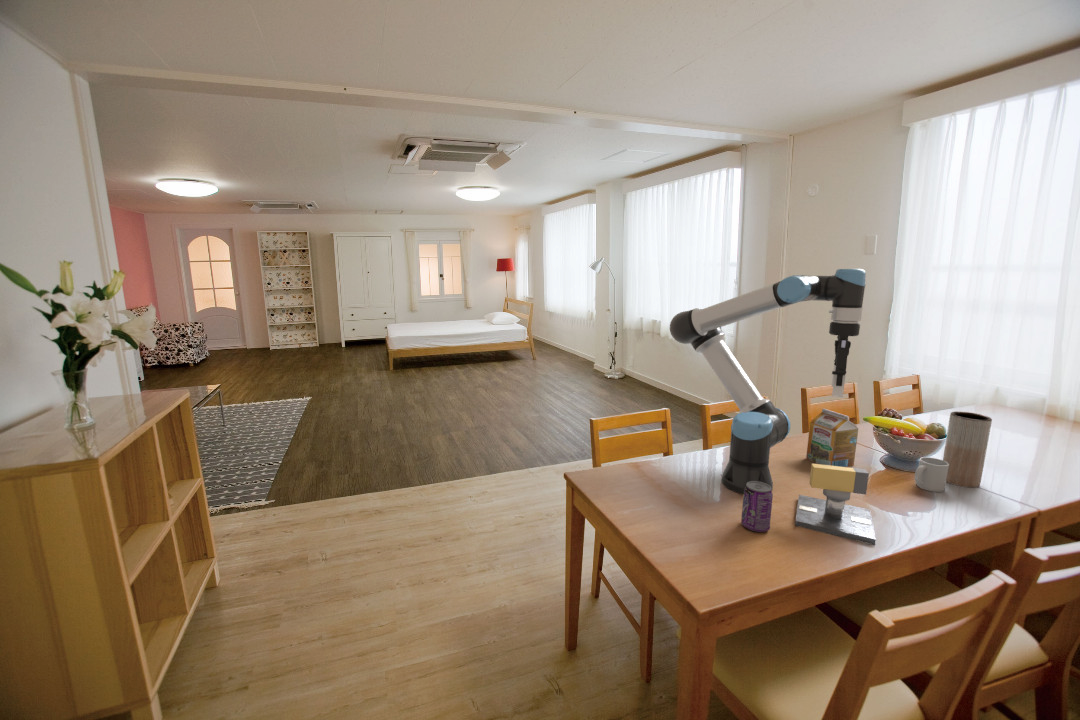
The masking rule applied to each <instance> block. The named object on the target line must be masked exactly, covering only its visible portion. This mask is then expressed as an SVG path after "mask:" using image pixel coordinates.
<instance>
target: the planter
mask: <svg viewBox="0 0 1080 720" xmlns="http://www.w3.org/2000/svg"><path fill="white" fill-rule="evenodd" d="M948 420H949V421H948V425H947V432H946V439H945V446H944V451H943V456H942V457H943V458H942V460H943V461H945V462H947V463H948V464H949V467H948V473H947V479H946V483H949V484H952V485H955V486H958V487H964V488H978V487H980V485H981V482H982V477H983V471H984V465H985V460H986V455H987V449H988V444H989V438H990V434H991V433H990V432H991V427H992V423H993V419H992V417H990V416H988V415H985V414H981V413H976V412H971V411H970V412H969V411H958V410H957V411H952V412H950V415H949V419H948Z"/></svg>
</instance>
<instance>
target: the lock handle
mask: <svg viewBox="0 0 1080 720" xmlns="http://www.w3.org/2000/svg"><path fill="white" fill-rule="evenodd" d="M869 474H870V473H869V471H868V470H867V469H866V468H857V467H839V466H830V465H821V464H817V463H811V467H810V475H809V485H810V487H811V488H813V489H820V490H822V494H823V496H825V498H826V497H828V498H831V499H834V500H839V501H845V502H846V501H849V500H850V499H851V493H852V494H858V495H867V490H868V484H869V483H868V482H869Z"/></svg>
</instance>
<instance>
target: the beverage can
mask: <svg viewBox="0 0 1080 720" xmlns="http://www.w3.org/2000/svg"><path fill="white" fill-rule="evenodd" d="M772 491H773V490H772ZM772 491H771V486H769V485H768V484H766V483H763V482H758V481H750V482H747V484H746V487H745V489H744V494H742V495H743V499H742V508H741V509H742V510H741V511H742V512H741V520H740V521H741V525H742V526H743V527H745V528H746V529H748V530H750V531H752V532H756V533H762V532H767V531H769V530H770V529H771V518H772V508H773V507H772V506H773V496H774V495H773V492H772Z"/></svg>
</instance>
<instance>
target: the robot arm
mask: <svg viewBox="0 0 1080 720" xmlns="http://www.w3.org/2000/svg"><path fill="white" fill-rule="evenodd" d="M866 274H867V273H866V270H864V269H862V268H838V269H836V271H835V273H834V274H833V275H807V274H806V275H805V274H804V275H803V274H802V275H801V274H800V275H798V274H797V275H790V276H787V277H785V278H783V279H782V280H780V281H778V282H775V283H772V284H769V285H766V286H763V287H760V288H758V289H755V290H751V291H749V292H746V293H744V294H740V295H738V296H735V297H732V298H730V299H727V300H724V301H721V302H719V303H716V304H713V305H711V306H707V307H705V308H698V307H697V308H693V309H690V310H686V311H685V310H684V311H681V312H679V313H677V314H676V315H674V316H673V318H672V319H671V321H670V323H669V333H670V336H672V338H673V339H674V340H675V341H676V342H677V343H679V344H684V345H689V344H690V345H691V346H692V348H693V350H694V351H695V352H696V353H701V354H702V355H703V356H704V358H705V360H706V361H707V362H708V364H709V366H710V368H711V369H712V370H713V372H714V373H715V375H716V376H717V378H718V380H719V381H720V382H721V384H722V385H723V387H724V388H725V390H726V391H727V393H728V394H729V396H730V397H731V399H732V401H733V402H734V403H735V405H736V407H737V408H738V410H739V413H736V415H734V417H733V418H732V423H731V426H730V443H729V444H730V446H729V459H728V462H727V464H726V466H725V468H724V471H723V473H722V475H721V483H722V485H723V486H724V487H725V488H727V489H728V490H730V491H732V492H735V493H738V494H741V495H744V489H745V487H746V484H747V482H750V481H758V482H763V483H766V484H768V485H769V486H771V491H773V487H774V485H773V484H774V482H773V479H772V475H771V471H770V467H769V463H770V453H771V448H773V447H775V446H776V445H777V444H779V443H781V442H783V441H785V439H786V438H787V436H788V435H789V433H790V431H791V421H790V418H789V417H788V415H787V413H786V412H784V411H783V410H782V409H781V408H777V407H776V406H775V405H774V403H773V402H772V401H771V399H768V398H764V397H763V396H762V394H761V393H760V391H759V390H758V389H757V386H755V384H754V383H753V381H752V380H751V379H750V377H749V375H748V374H747V373H746V371H745V370H744V369H743V367H742V365H741V364H740V362H739V361H738V360H737V358H736V357H735V355H734V354H733V352H732V350H731V349H730V348H729V346H728V345H727V344H726V342H725V341H724V339H725V333H724V331H723V330H722V327H726V326H727V325H731V324H732V325H733V324H735V323H737V322H741V321H744V320H746V319H751V318H753V317H756V316H759V315H761V314H762V315H763V314H765V313H768V312H771V311H775V310H777V309H781V308H785V307H788V306H790V305H794V304H798V303H801V302H807V301H808V302H809V301H819V302H820V301H824V302H826V301H827V302H832V305H831V309H829V311H828V313H829V314H831V315H830V320H831V321H830V322H829V330H828V333H829V334H830V335H831V336H837V337H836V338H837V340H834V355H835V356H834V359H833V360H834V361H833V370H832V373H831V375H832V381H831V387H832V393H831V396H832V397H837V398H838V397H839V398H843V397H844V392H845V391H844V390H845V381H846V375H847V364H848V356H849V354H850V349H851V346H852V342H851V340H849V337H857V336H859V334H860V329H861V324H860V323H859V322H861V321H862V313H863V304H864V303H863V302H864V298H865V297H864V296H865V290H866V289H865V288H866V284H867V283H866Z"/></svg>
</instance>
